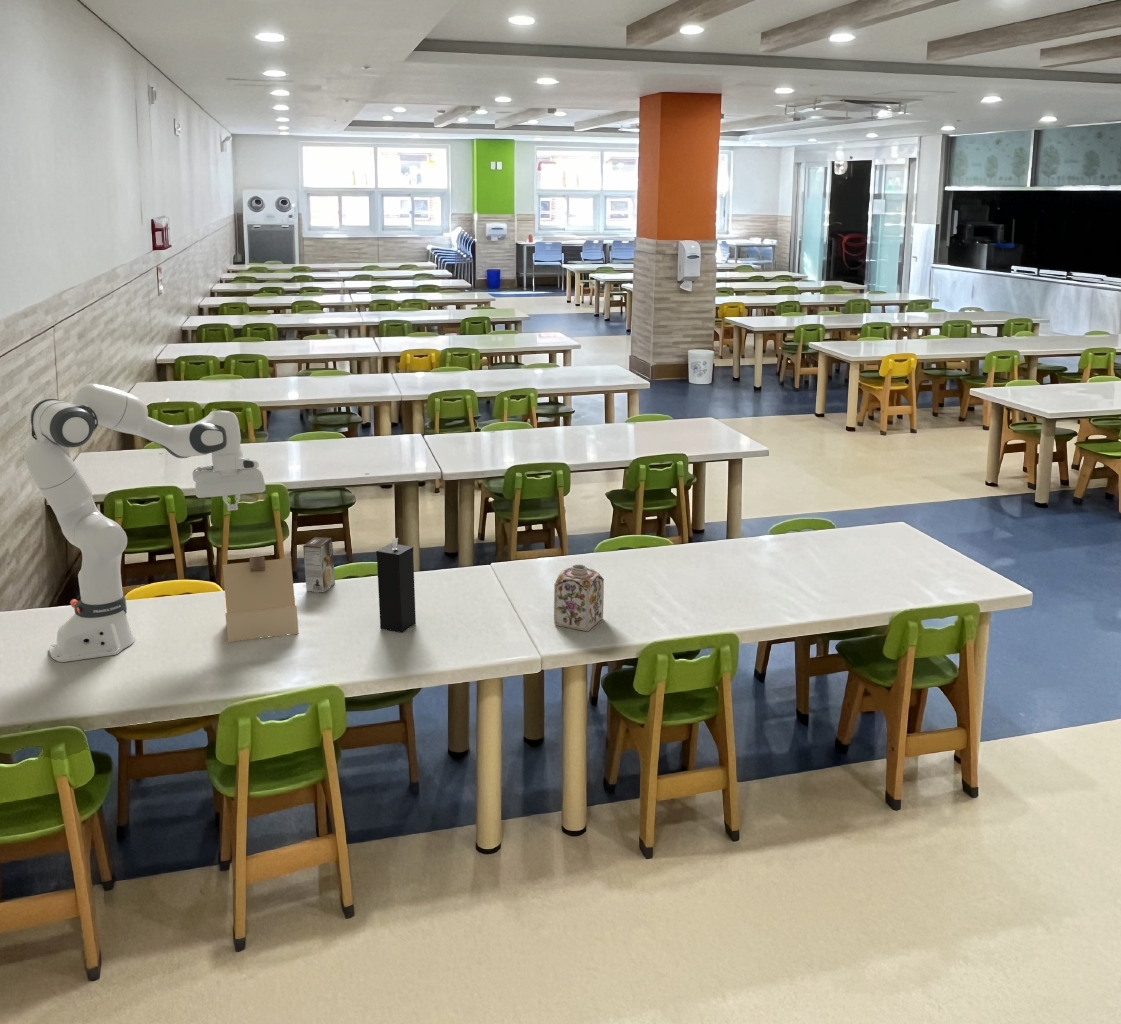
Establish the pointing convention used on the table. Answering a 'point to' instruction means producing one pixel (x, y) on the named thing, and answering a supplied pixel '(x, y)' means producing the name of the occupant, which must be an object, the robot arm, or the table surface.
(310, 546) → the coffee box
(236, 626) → the carton
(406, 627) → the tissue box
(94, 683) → the table surface
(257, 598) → the lid flap
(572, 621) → the decorative jar
